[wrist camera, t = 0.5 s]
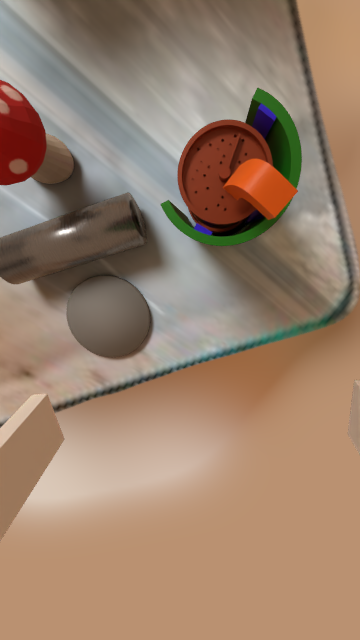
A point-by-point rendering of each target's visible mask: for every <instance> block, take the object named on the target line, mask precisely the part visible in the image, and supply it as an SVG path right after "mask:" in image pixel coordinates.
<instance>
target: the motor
mask: <svg viewBox="0 0 360 640" xmlns="http://www.w3.org/2000/svg"><path fill="white" fill-rule="evenodd" d="M301 162H302V155H301V145H300V140H299V136H298V132H297V129H296V127H295V124H294V122H293V120H292V118H291V117H290V115H289V113H288V112H287V111H286V109H285V108H284V107H283V106H282V104H281V103H280V102H279V101H278V100H277V99H275V98H274V97H273V96H272V95H270V94H269V93H267V92H265V91H264V90H262V89H260V88H257V90H256V92H255V94H254V96H253V98H252V101H251V105H250V108H249V112H248V115H247V119H246V122H245V123H244V122H241V121H237V120H220V121H216V122H213V123H211V124H208V125H206V126H205V127H203V128H202V129H200V130H199V131H198V132H197V133H196V134H195V135H194V136H193V137H192V138H191V139H190V140H189V142H188V143H187V145H186V146H185V148H184V150H183V152H182V155H181V158H180V161H179V166H178V185H179V190H180V193H181V196H182V198H183V200H184V202H185V203H186V205H187V206H188V209H189V212H190V214H191V216H192V218H193V219H194V221H195V222H196V223H197V224H196V226H195V228H194V227H193V226H192V224H191V223H190V221H189V220H188V218H187V216H186V215H185V214H183V213H182V212H181V211H180V210H179V209H178V208H177V207H176V206H175V205H173V204H172V203H171V202H170V201H169V200H168V201H166V202H164V203H162V204H161V206H162V208H163V210H164V212H165V214H166V215H167V217H168V218H169V219H170V221H171V222H172V223H173V224H174V225H175V226H176V227H177V228H178V229H179V230H180V231H181V232H183V233H184V234H185V235H187V236H188V237H190V238H192V239H194V240H196V241H199V242H201V243H205V244H209V245H215V246H229V245H236V244H240V243H243V242H246V241H249V240H251V239H253V238H255V237H257V236H259V235H261V234H262V233H264V232H265V231H266V230H268V229H269V228H270V227H271V226H272V225H273V224H274V223H275V222H276V221H277V220H278V219H279V218H280V217H281V216H282V214H283V213H284V212H285V210H286V209H287V207H288V206H289V204H290V202H291V200H292V198H293V196H294V195H295V194H296V193H297V192H298V190H297V189H296V188H297V185H298V182H299V178H300V172H301ZM247 216H248V218H247ZM246 218H247V220H246V222H245V223H244V224H245V226H244V227H243V228H242V229H241V230H240V231H238V232H237V233H235V234H233V235H231V236H226V237H219V236H212V232H213V233H224V232H228V231H230V230H232V229H234V228H236V227H238V226H239V225H240V224H241V223H242V222H243V221H244V220H245V219H246Z"/></svg>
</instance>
